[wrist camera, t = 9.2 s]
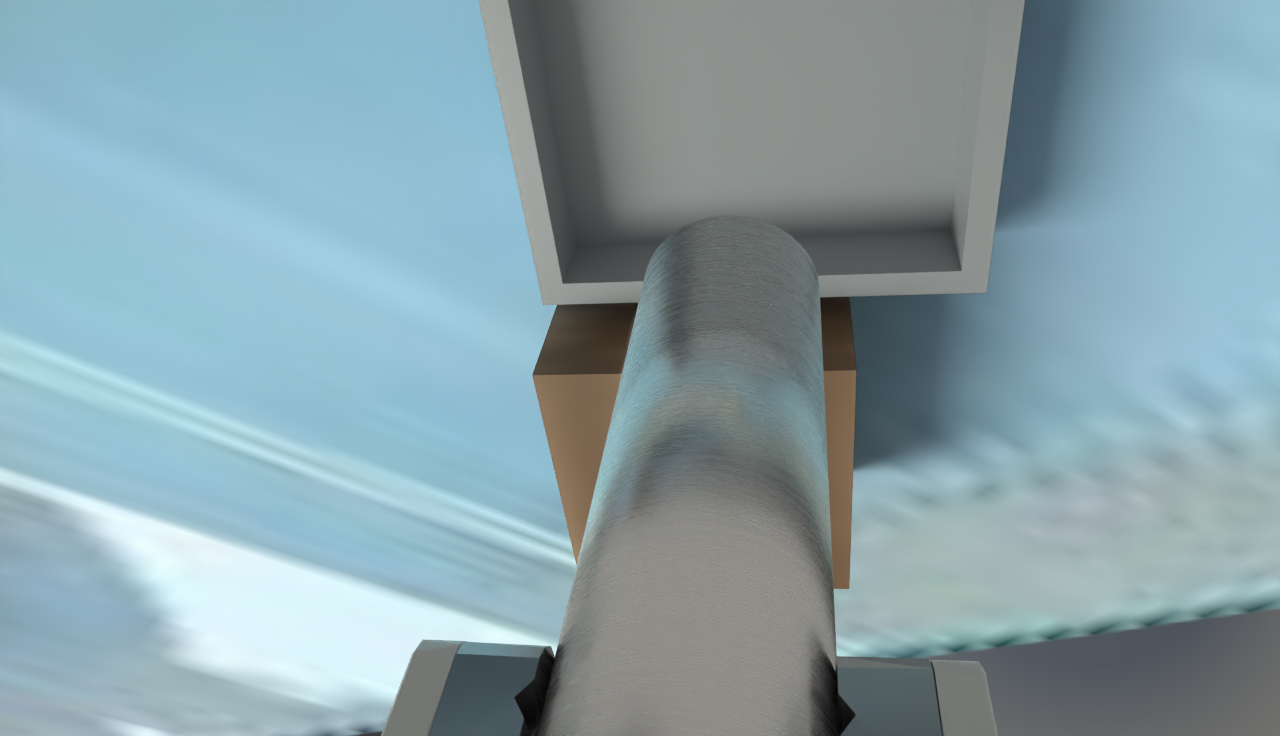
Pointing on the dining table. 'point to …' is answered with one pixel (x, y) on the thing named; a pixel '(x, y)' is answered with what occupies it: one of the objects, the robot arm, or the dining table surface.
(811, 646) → the pin
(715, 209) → the tray
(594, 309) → the hitch block
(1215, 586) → the dining table surface
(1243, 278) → the dining table surface
